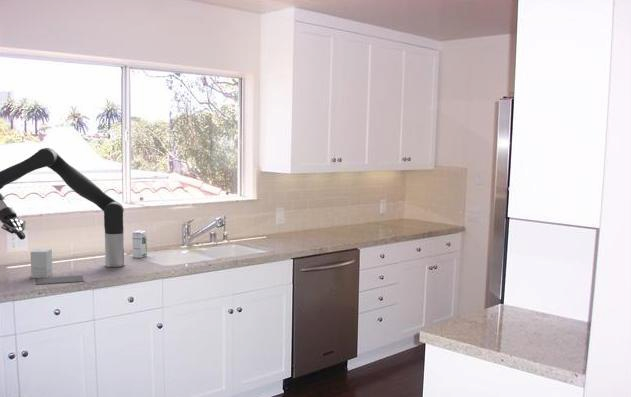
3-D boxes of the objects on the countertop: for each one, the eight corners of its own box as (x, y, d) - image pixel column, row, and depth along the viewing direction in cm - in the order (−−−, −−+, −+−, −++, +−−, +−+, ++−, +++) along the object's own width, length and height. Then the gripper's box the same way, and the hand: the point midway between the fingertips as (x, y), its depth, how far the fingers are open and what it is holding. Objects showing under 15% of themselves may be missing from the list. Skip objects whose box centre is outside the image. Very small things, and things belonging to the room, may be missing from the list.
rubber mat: (82, 276, 283) (82, 275, 283) (83, 281, 272) (83, 280, 272) (36, 278, 275) (36, 278, 275) (35, 284, 264) (35, 284, 264)
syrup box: (141, 258, 328) (141, 232, 327) (132, 257, 329) (132, 231, 328) (146, 256, 334) (146, 230, 332) (137, 255, 335) (137, 230, 333)
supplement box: (53, 274, 284) (52, 249, 283) (46, 278, 277) (46, 251, 275) (37, 274, 284) (37, 248, 282) (30, 278, 276) (30, 251, 275)
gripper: (-4, 207, 279) (15, 235, 275) (19, 205, 291) (38, 231, 288) (-12, 217, 281) (7, 245, 278) (11, 214, 293) (30, 241, 290)
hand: (23, 238), depth 283 cm, fingers closed
